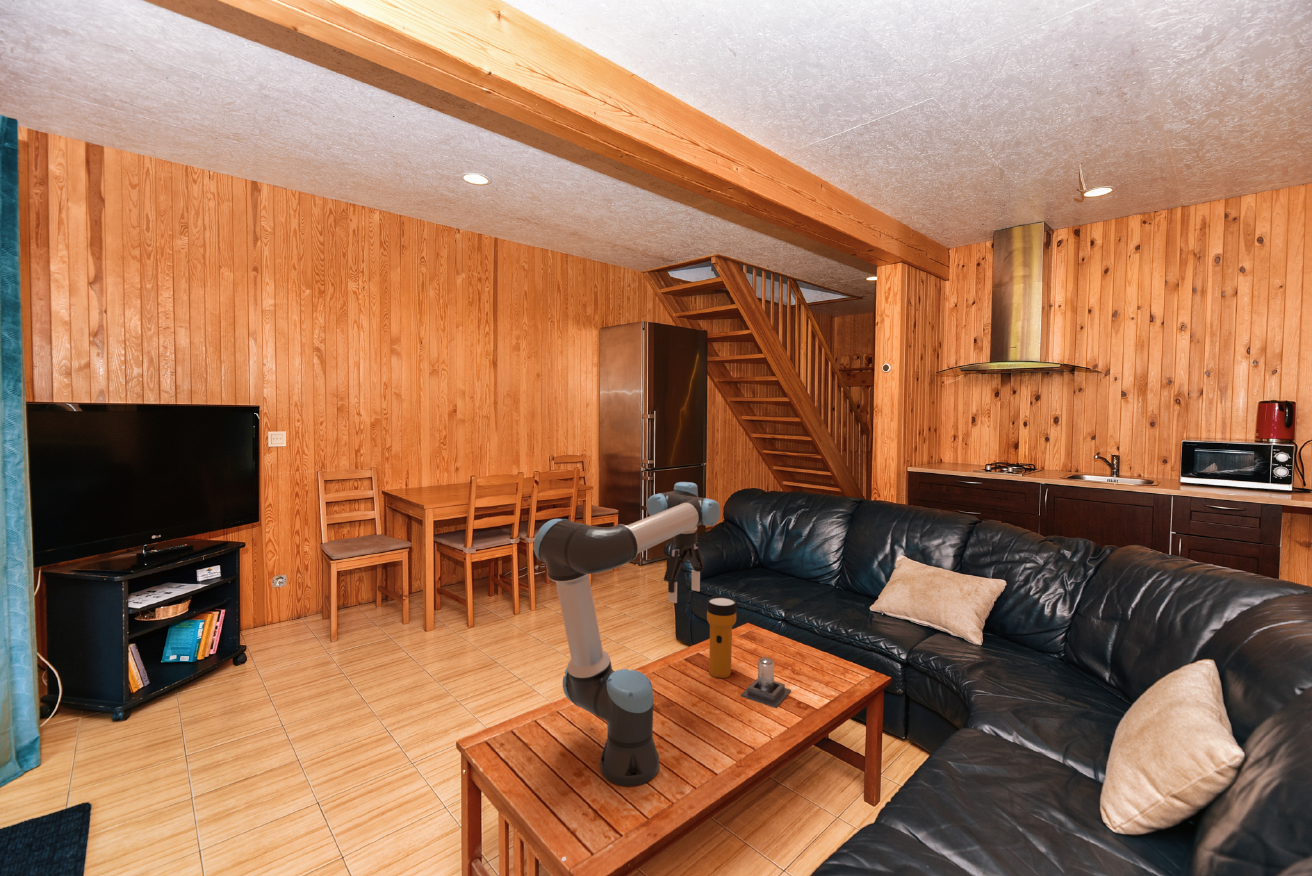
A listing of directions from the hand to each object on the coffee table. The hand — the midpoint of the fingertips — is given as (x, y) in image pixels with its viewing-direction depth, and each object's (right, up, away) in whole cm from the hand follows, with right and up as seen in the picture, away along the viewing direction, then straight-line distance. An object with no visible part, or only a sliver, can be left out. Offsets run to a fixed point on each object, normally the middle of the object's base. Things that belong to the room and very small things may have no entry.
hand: (684, 596), depth 181 cm
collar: (+26, -32, 0) cm, 41 cm away
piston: (+26, -31, 0) cm, 41 cm away
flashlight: (+13, -31, +14) cm, 36 cm away
